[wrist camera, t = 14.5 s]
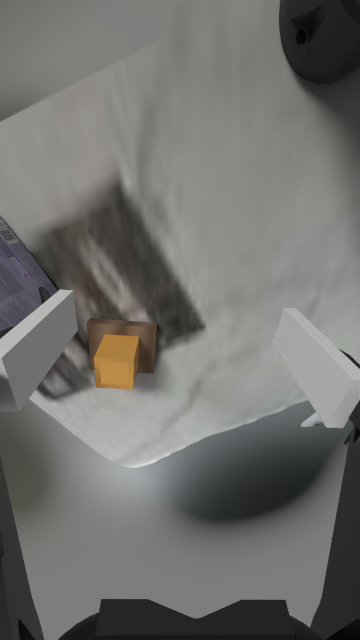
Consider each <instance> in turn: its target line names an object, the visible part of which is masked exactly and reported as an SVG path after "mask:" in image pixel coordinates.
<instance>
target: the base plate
mask: <svg viewBox="0 0 360 640" xmlns="http://www.w3.org/2000/svg"><path fill="white" fill-rule="evenodd" d="M87 329H88V341H89V353H90V364H91V370H95V367H94V356H95V354H96V352H97V350H98V348H99V346H100V344H101V342H102V340H103V337H104V335H105V334H109V335H123V336H137V337H139V361H138V368H137V373H153V374H154V362H155V348H156V334H157V323H146V322H133V321H120V320H108V319H95V318H90V319H89V320H88V322H87Z"/></svg>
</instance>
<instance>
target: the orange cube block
mask: <svg viewBox="0 0 360 640" xmlns="http://www.w3.org/2000/svg"><path fill="white" fill-rule="evenodd" d="M138 361H139V337H137V336H123V335H109V334H105V335H104V337H103V340H102V342H101V344H100V346H99V348H98V350H97V352H96V354H95V356H94V367H95V380H96V387H98V388H117V389H133V388H134V383H135V378H136V373H137V368H138Z"/></svg>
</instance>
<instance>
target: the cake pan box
mask: <svg viewBox="0 0 360 640" xmlns="http://www.w3.org/2000/svg"><path fill="white" fill-rule="evenodd" d="M57 292H58V290H57V289H56V288H55V286H54V285H53V284H52V282H51V281H50V280H49V278H48V277H47V276H46V274H45V271H44V270H43V269H42V268H41V266H40V265H39V264H38V262H37V261H36V260H35V259H34V257H33V256H32V255H31V253H30V252H28V251H27V249H26V248H25V247H24V246H23V244H22V243H21V242H20V240H19V239H18V238H17V237H16V235H15V234H14V233H13V231H12V230H11V229H10V228H9V226H8V225H7V224H6V222H5V221H4V220H3V218H2V217H1V216H0V331H2V330H4V329H6V328H9V327H15V326H17V325H18V324H19V323H20V322H21V321H23V320H24V319H25V318H26V317H27V316H29V315H30V314H31V313H32V312H34V311H35V310H36V309H37V308H38V307H40V306H41V305H42V304H43V303H44V302H46V301H47V300H48V299H49V298H50V297H52V296H53V295H54V294H55V293H57Z"/></svg>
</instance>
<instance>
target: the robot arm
mask: <svg viewBox="0 0 360 640" xmlns="http://www.w3.org/2000/svg"><path fill="white" fill-rule="evenodd" d="M279 25H280V35H281V41H282V45H283V48H284V51H285V54H286V56H287V58H288V60H289V62H290V64H291V65H292V67H293V68H294V69H295V70H296V72H297V73H298V74H300V75H301V76H302V77H304V78H305V79H307V80H309V81H312V82H315V83H332V82H336V81H339V80H341V79H344V78H346V77H347V76H349V75H351V74H352V73H354V72H355V71H357V70H358V69H359V68H360V0H281V1H280V11H279ZM77 331H78V326H77V318H76V310H75V302H74V294H73V291H72V290H59V291H58V292H57V293H55V294H54V295H53V296H52V297H50V298H49V299H48V300H47V301H46V302H44V303H43V304H42V305H41V306H40V307H38V308H37V309H36V310H35V311H34V312H32V313H31V314H30V315H29V316H27V317H26V318H25V319H24V320H23V321H21V322H20V323H19V324H18V325H17V326H15V327H9V328H6V329H4V330H2V331H0V411H7V412H19V411H20V410H21V408H22V407H23V406H24V404H25V403H26V402H27V400H28V399H29V397H30V396H31V395H32V393H33V392H34V391H35V389H36V388H37V386H38V385H39V384H40V382H41V381H42V379H43V378H44V377H45V375H46V374H47V372H48V371H49V370H50V368H51V367H52V365H53V364H54V363H55V361H56V360H57V359H58V357H59V356H60V354H61V353H62V352H63V350H64V349H65V347H66V346H67V345H68V343H69V342H70V340H71V339H72V338H73V336H74V335H75V333H76V332H77ZM272 344H273V346H274V347H275V349H276V350H277V352H278V354H279V355H280V357H281V358H282V360H283V361H284V363H285V364H286V366H287V367H288V369H289V371H290V372H291V374H292V375H293V377H294V378H295V380H296V381H297V383H298V384H299V386H300V387H301V389H302V391H303V392H304V394H305V395H306V397H307V398H308V400H309V401H310V403H311V404H312V406H313V408H314V409H315V410H316V412H317V414H318V415H319V417H320V418H321V420H322V421H323V423H324V424H325V426H326V427H328V428H343V427H344V426H345V424H346V423H347V421H348V419H350V420H351V421H352V423H353V424H354V425H355V427H354V428H353V430H352V431H351V433H350V434H349V436H348V437H347V439H346V440H345V442H344V444H347V443H348V442H349V446H348V452H347V458H346V463H345V469H344V474H343V480H342V486H341V492H340V497H339V503H338V508H337V514H336V520H335V526H334V531H333V537H332V542H331V548H330V554H329V559H328V565H327V571H326V577H325V582H324V588H323V593H322V598H321V601H320V604H319V606H318V608H317V611H316V613H315V615H314V617H313V621H312V623H311V626H310V628H309V627H308V626H307V625H305V624H304V623H302V622H301V621H299V620H297V619H295V618H294V617H292V616H290V615H289V612H288V609H287V604H286V601H285V600H240V601H238V602H236V603H233V604H231V605H229V606H227V607H225V608H222V609H220V610H218V611H215V612H213V613H211V614H208V615H206V616H204V617H202V618H198V619H195V618H191V617H189V616H186V615H184V614H182V613H179V612H177V611H174V610H172V609H170V608H167V607H165V606H163V605H160V604H158V603H156V602H153V601H151V600H148V599H101V604H100V610H99V613H96V614H94V615H92V616H89V617H88V618H86V619H84V620H83V621H81V622H79V623H77V624H76V625H75V626H74V627H72V628H71V629H70V630H68V631H67V632H66V633H65V634H63V635H62V636H61V637H60V638H59V639H58V640H360V365H359V364H358V363H357V362H356V361H355V360H354V359H353V358H352V357H351V356H350V355H348V354H347V353H345V352H343V351H342V350H340V349H338V348H337V347H336V346H335V345H334V344H333V343H332V342H331V341H329V340H328V339H327V338H326V337H325V336H324V335H323V334H322V333H321V332H320V331H319V330H318V329H317V328H316V327H315V326H314V325H313V324H312V323H310V322H309V321H308V320H307V319H306V318H305V317H304V316H303V315H302V314H301V313H300V312H299V311H298V310H297V309H296V308H284V309H283V312H282V315H281V318H280V321H279V324H278V327H277V330H276V333H275V336H274V339H273V342H272ZM0 640H44V637H43V633H42V629H41V625H40V622H39V618H38V615H37V612H36V609H35V606H34V603H33V599H32V596H31V592H30V587H29V583H28V578H27V574H26V569H25V565H24V560H23V556H22V551H21V547H20V542H19V538H18V533H17V529H16V524H15V520H14V516H13V511H12V506H11V502H10V498H9V493H8V489H7V484H6V480H5V476H4V471H3V466H2V462H1V457H0Z"/></svg>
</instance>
